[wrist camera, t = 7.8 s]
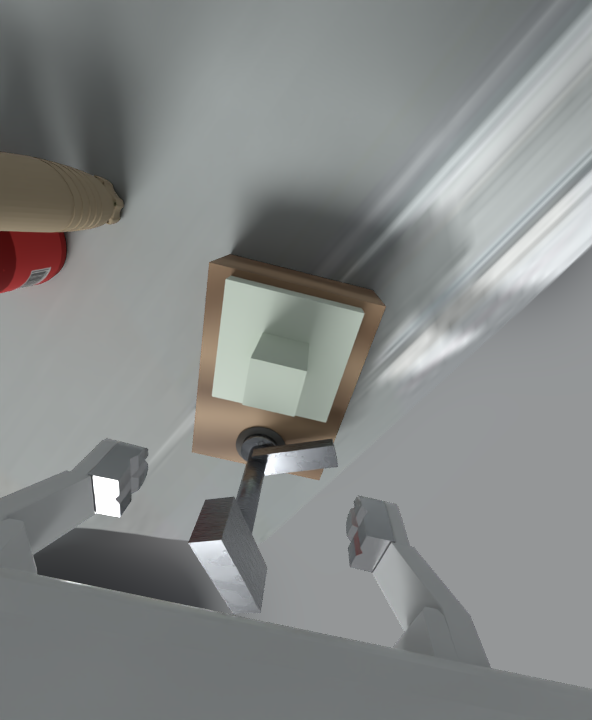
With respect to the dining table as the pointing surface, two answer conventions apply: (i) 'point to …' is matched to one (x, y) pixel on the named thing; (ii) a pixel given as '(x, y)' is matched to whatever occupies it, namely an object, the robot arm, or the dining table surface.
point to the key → (249, 519)
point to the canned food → (30, 258)
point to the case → (236, 421)
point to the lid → (282, 349)
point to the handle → (53, 197)
